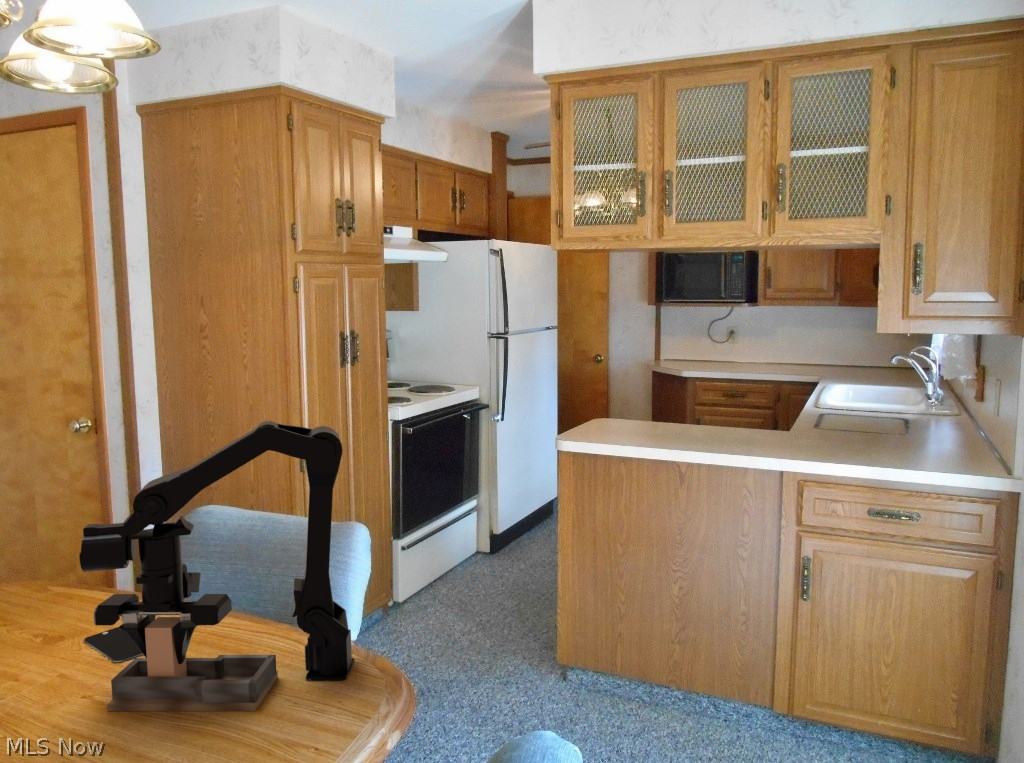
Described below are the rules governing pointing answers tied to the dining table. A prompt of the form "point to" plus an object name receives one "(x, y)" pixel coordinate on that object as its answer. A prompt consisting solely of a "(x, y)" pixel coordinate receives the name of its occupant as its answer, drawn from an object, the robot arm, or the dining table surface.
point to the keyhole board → (196, 685)
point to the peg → (163, 649)
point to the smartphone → (114, 645)
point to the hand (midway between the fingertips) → (167, 663)
